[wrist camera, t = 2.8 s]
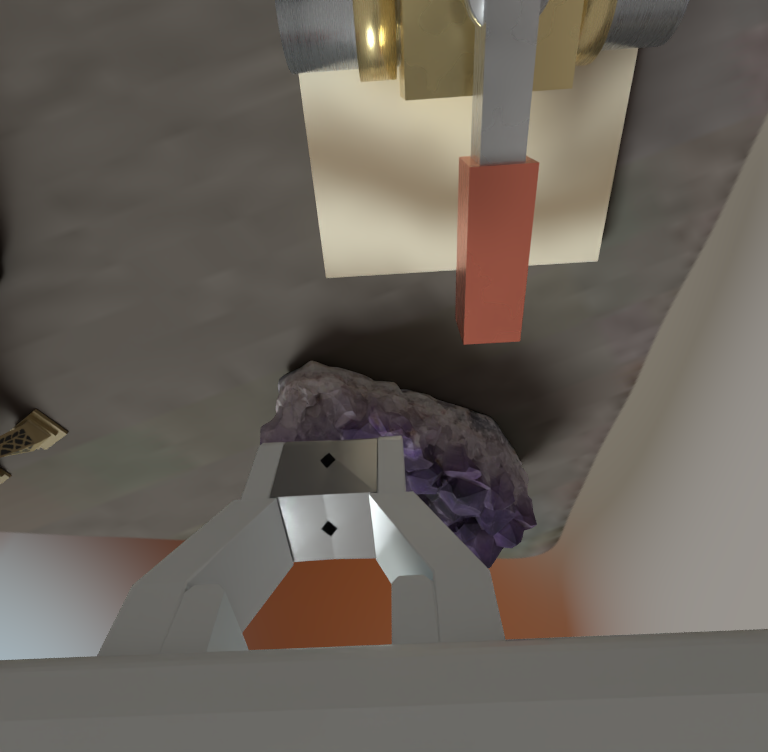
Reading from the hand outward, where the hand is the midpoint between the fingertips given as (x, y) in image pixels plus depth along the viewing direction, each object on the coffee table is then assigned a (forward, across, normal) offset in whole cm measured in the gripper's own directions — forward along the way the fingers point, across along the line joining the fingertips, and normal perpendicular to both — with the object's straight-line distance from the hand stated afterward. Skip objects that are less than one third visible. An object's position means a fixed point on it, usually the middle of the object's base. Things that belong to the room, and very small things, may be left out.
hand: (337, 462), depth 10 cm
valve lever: (+13, -5, -4) cm, 15 cm away
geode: (+21, -2, +16) cm, 26 cm away
